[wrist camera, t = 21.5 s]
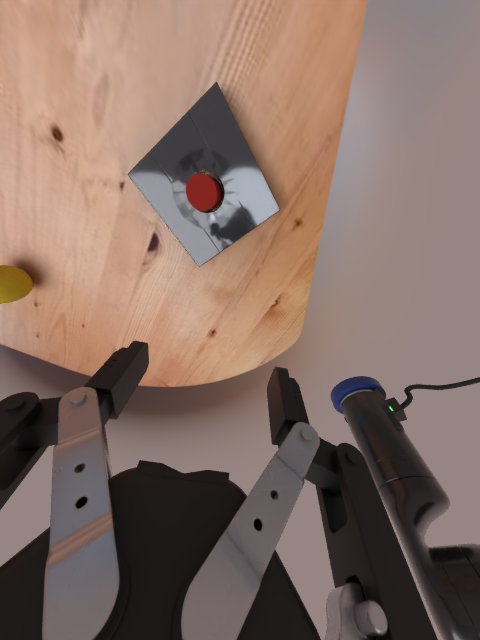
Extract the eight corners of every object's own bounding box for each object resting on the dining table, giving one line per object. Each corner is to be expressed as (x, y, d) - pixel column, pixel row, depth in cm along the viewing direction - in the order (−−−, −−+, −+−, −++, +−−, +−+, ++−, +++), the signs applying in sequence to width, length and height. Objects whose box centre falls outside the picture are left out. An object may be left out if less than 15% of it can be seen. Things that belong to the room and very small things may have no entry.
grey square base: (219, 91, 23) (216, 81, 21) (277, 208, 29) (280, 209, 27) (136, 175, 27) (127, 174, 25) (202, 262, 33) (199, 267, 31)
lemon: (20, 289, 37) (-32, 311, 30) (2, 258, 34) (-59, 274, 27) (50, 291, 37) (6, 312, 30) (35, 260, 34) (-18, 276, 27)
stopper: (211, 171, 27) (203, 165, 22) (227, 197, 28) (223, 198, 23) (191, 189, 28) (179, 187, 23) (207, 213, 29) (199, 217, 24)
